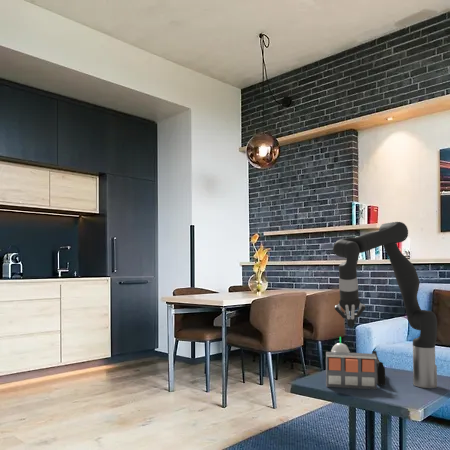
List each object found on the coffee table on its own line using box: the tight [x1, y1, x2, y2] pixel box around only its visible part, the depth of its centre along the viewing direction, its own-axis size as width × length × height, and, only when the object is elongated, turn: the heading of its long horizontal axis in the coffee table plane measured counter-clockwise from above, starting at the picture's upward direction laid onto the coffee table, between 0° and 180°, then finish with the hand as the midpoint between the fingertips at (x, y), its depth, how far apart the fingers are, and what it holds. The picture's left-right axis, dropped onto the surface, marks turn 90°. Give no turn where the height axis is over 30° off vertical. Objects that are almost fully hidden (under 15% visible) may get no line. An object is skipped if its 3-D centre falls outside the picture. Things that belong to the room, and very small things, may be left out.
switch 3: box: [361, 359, 374, 372], centre depth 211 cm, size 5×5×5 cm
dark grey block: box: [325, 351, 378, 391], centre depth 214 cm, size 21×6×14 cm, turn 80°
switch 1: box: [328, 357, 341, 371], centre depth 214 cm, size 5×5×5 cm
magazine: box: [371, 350, 387, 386], centre depth 227 cm, size 17×3×30 cm
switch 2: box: [345, 358, 358, 372], centre depth 211 cm, size 5×5×5 cm
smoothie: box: [330, 336, 351, 353], centre depth 223 cm, size 8×8×20 cm
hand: (351, 326), depth 204 cm, fingers closed
